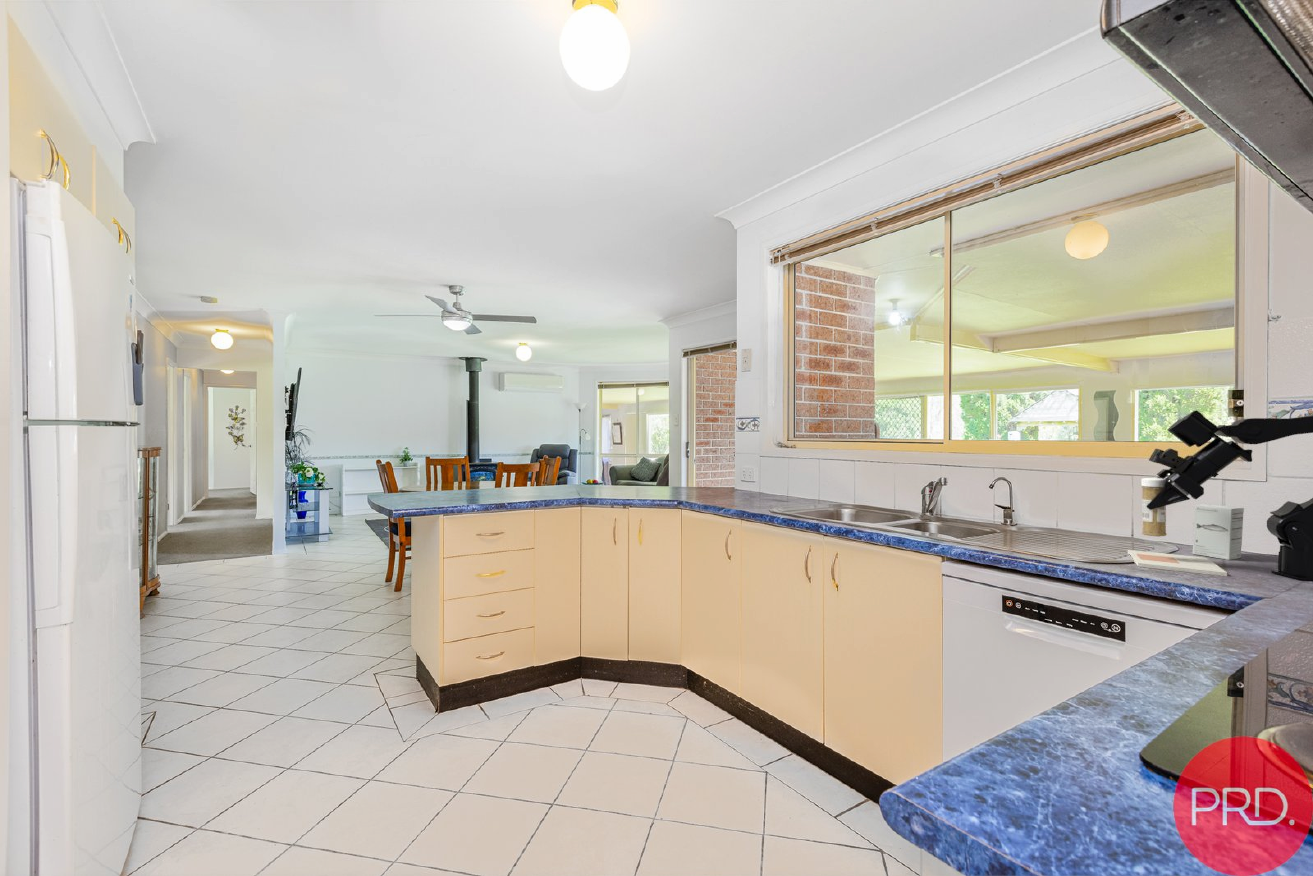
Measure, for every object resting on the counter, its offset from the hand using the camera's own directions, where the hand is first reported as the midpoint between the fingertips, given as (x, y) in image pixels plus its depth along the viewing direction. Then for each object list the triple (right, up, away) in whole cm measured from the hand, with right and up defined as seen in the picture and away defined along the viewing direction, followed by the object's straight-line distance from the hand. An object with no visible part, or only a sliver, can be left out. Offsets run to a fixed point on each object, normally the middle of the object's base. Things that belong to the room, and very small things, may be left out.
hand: (1146, 507), depth 143 cm
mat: (+4, -13, -2) cm, 14 cm away
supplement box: (+24, -13, +7) cm, 28 cm away
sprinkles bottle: (+1, -7, -1) cm, 7 cm away
